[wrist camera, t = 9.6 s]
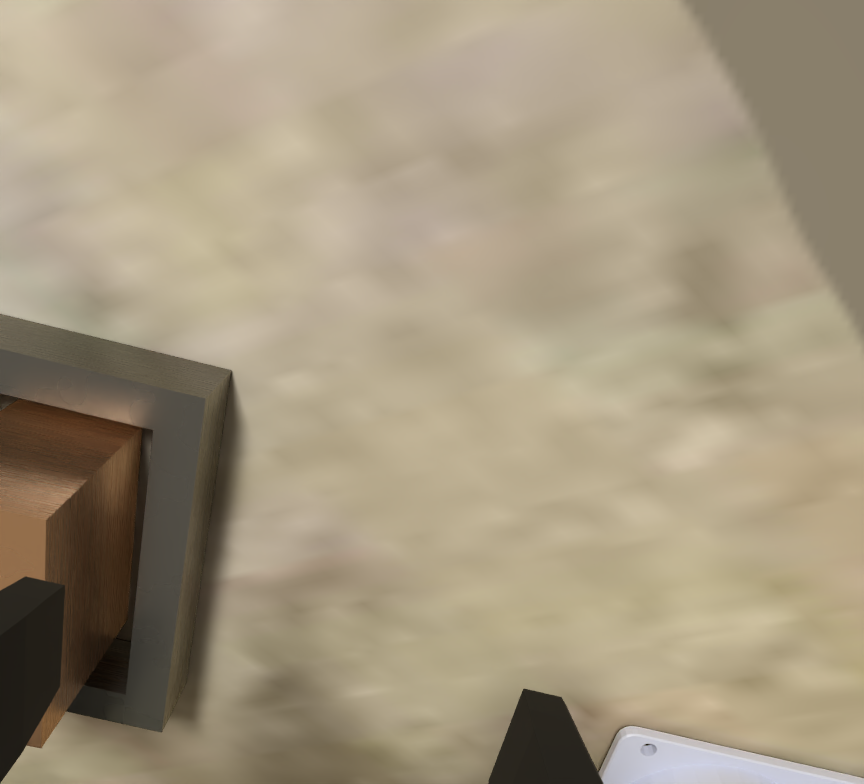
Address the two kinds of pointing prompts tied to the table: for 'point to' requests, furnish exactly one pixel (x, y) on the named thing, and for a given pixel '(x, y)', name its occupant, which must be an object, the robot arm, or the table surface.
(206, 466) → the duct collar
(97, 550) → the brown rectangular block
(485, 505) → the table surface
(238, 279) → the table surface
